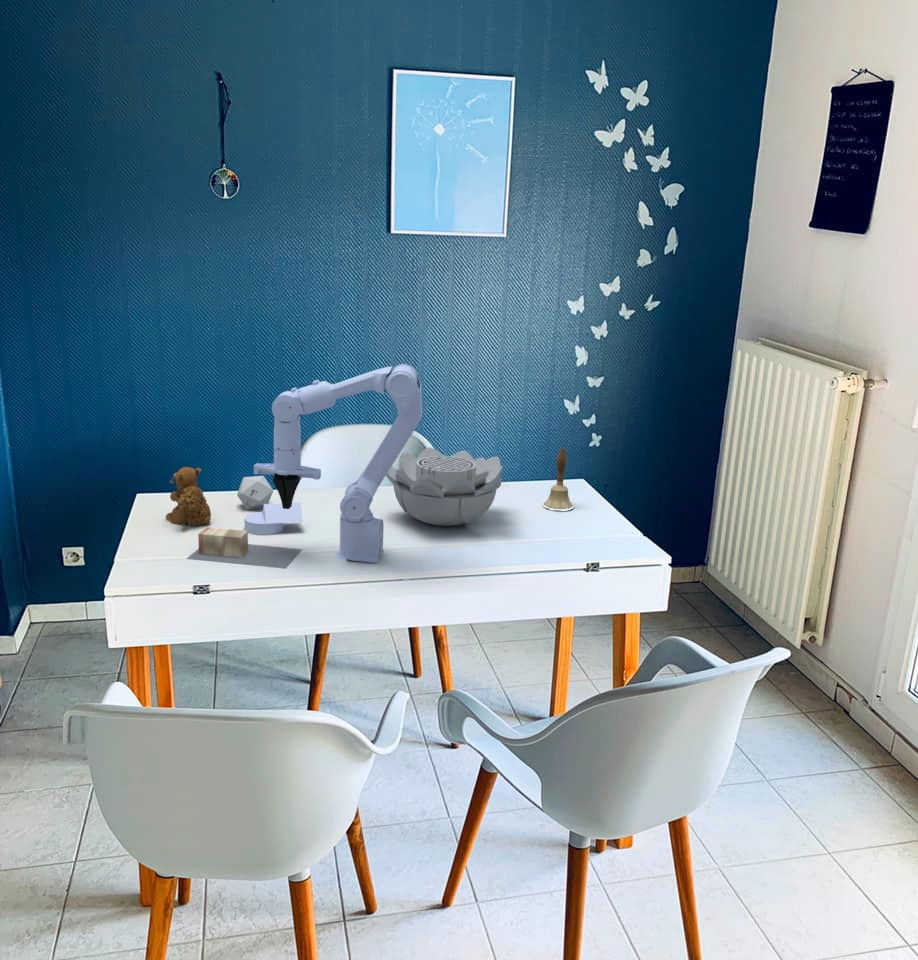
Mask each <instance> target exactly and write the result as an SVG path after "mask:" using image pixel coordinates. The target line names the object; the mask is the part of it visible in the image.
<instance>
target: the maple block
mask: <svg viewBox="0 0 918 960" xmlns="http://www.w3.org/2000/svg"><path fill="white" fill-rule="evenodd" d="M197 535H198V536H197V538H198V539H197V540H198V549H199V553H201V554H211V555H222V556H232V557H242V556H243V555H244V554H245V553H246V552H247V551H248V544H249V533H248V531H245V530H239V529H229V528H219V527H207V526H206V527H205V528H203V529H202V530H201V531H200V532H198V534H197Z"/></svg>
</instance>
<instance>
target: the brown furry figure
mask: <svg viewBox="0 0 918 960" xmlns="http://www.w3.org/2000/svg"><path fill="white" fill-rule="evenodd" d="M201 471H202V469H201V468H199V467H197V468H195V469H194V468H193V467H189V466H182V467H181V468H180V469H179V470H178V471H177V472H175V473H173V477H172V478H171V479H170V481H169V483H171V484H172V485H173V484H174V480H175V483H176V488H177V489H178V490H177V491H172V492H171V493H170V494H169V495H170V496H169V497H170V500H171V501H172V502H176V503H177V505H176V506H174V508H173V509H172V511H171V512H168V513H167V514H166V515H165V518H166V520H167V521H169V522H171V523H172V524H177V525H189V526H191V527H193V528H194V527H195V526H196V527H198V526H207V525H208V524H209V523H211V519H212V518H211V516H212V512H211V508H210V505H209V504H208V502H207V499H206V496H204V490H202V489H201V488H199V485H198V484H199V483H198V477H199V475H200V473H201Z"/></svg>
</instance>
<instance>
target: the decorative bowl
mask: <svg viewBox="0 0 918 960" xmlns="http://www.w3.org/2000/svg"><path fill="white" fill-rule="evenodd" d="M502 473H503V465H501V461H500V457H498V456H492V457H489V458H487V459H485V457H479V458H478V457H477V458H475V459H474V457H473V456H472V455H471V454H470V453H469V452H468V451H466V450H461V451H458V452H456V453H454V454H453V455H444V454H442V453H441V452H440V451H438V450H437V449H435V448H433V447H426V448H425V449H423V450H421V452H420V453H419V454H418V456H417V458H416V457H414V456H413V455H412V454H410V453H408V452H402V453H400V455H399V460H398V468H397V469H396V468H395V467H394V466H393V465H392V466H391V468H390V469H389V471H388V473H387V474H386V476H385V477H386V478H387V480H389V482H391V484H393V490H394V495H395V499H396V501H397V502H398V504H399V506H400V507H401V509H402V510H403V511H404V512H405V513H409V515H411V516H412V517H414V518H415V519H416V520H419V521H421V522H423V523H426V524H429V525H433V526H434V525H435V526H443V527H449V526H452V527H453V526H459V525H463V524H466V523H473V522H475V521H477V520H479V519H480V518H481V517H483V516H484V514H486V513H487V512H488V510H489V509H490V507H491V506H492V504H493V502H494V500H495V497H496V493H497V490H498V489H499V488H500V487H501V486H502V477H501V475H502Z"/></svg>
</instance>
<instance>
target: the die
mask: <svg viewBox="0 0 918 960" xmlns="http://www.w3.org/2000/svg"><path fill="white" fill-rule="evenodd" d="M273 492H274V489H273V488H272V485H270V483H269V482H268V480H267V478H266V477H265V476H264V475H257V476H256V475H254V476H244V477H242V480H241V483H240V486H239V489H238V491H237V494H236V496H237V497H238V498H239V500H240V502H241V504H243V506H244V507H245V509H246V510H248V511H249V510H257V509H258V508H259V509H263V506H264V504H270V500H271V497H272V495H273Z"/></svg>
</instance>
